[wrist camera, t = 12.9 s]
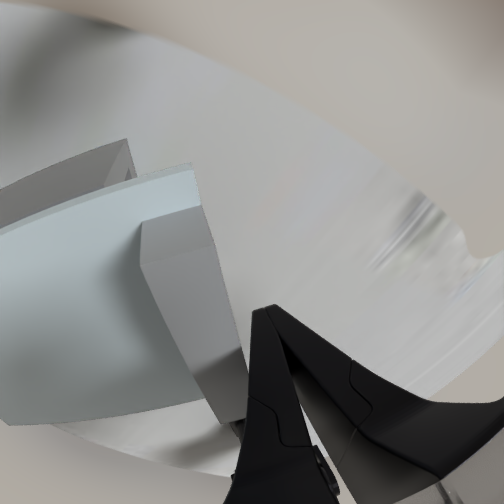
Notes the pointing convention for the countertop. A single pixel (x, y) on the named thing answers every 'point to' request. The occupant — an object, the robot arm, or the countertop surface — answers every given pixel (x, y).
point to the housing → (66, 181)
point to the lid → (117, 307)
